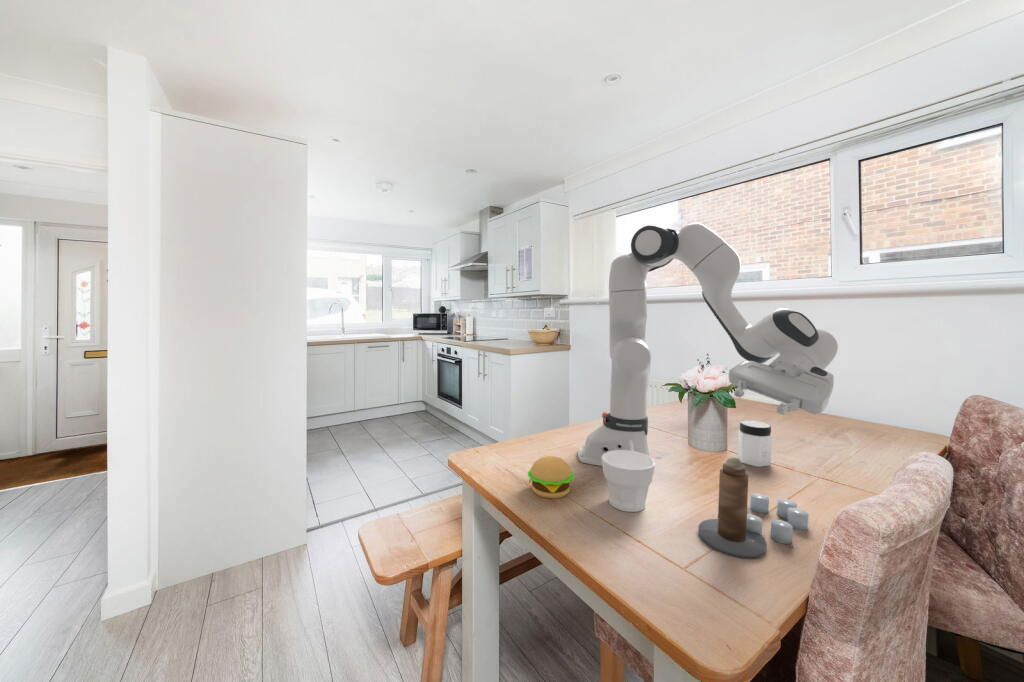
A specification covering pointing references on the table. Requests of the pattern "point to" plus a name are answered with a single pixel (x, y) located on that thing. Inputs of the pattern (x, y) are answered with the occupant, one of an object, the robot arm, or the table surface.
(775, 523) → the tealight cups
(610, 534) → the table surface
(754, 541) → the disc
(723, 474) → the pepper mill
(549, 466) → the hamburger
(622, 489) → the cup
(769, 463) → the jar
